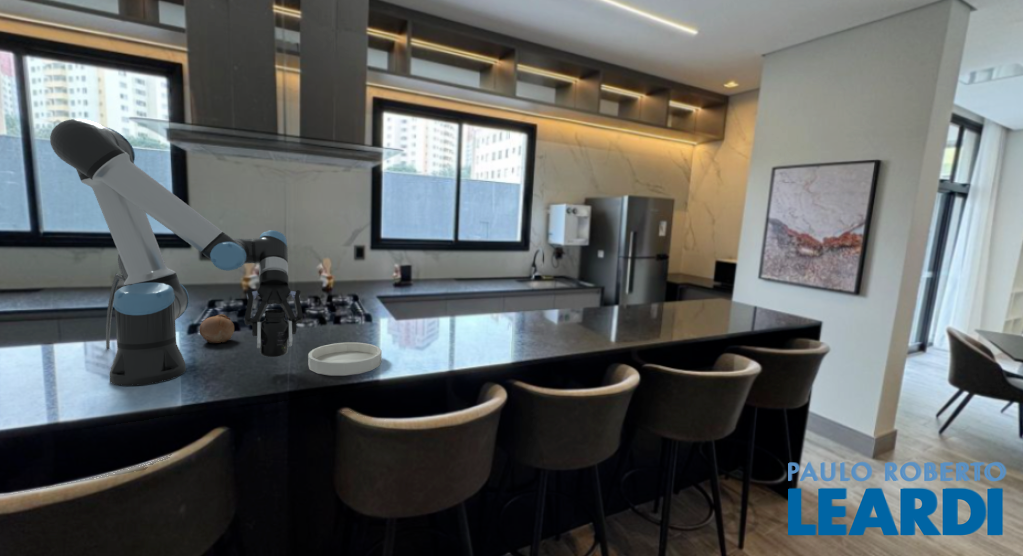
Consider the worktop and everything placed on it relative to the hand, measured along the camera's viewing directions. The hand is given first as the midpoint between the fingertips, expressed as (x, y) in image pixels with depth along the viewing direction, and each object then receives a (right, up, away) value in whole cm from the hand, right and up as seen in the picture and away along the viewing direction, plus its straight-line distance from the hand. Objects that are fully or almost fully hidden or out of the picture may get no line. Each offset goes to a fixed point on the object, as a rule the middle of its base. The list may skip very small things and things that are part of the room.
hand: (274, 344), depth 116 cm
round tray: (+14, -8, +14) cm, 21 cm away
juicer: (-53, -3, +18) cm, 56 cm away
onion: (-34, -3, +27) cm, 43 cm away
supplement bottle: (-2, -3, +3) cm, 5 cm away
